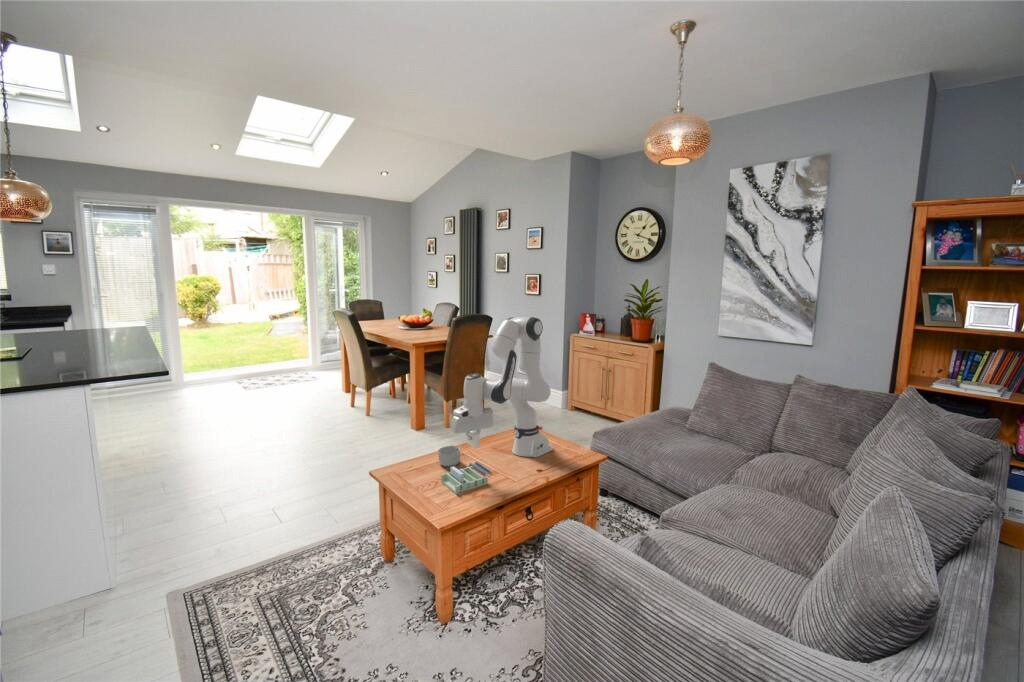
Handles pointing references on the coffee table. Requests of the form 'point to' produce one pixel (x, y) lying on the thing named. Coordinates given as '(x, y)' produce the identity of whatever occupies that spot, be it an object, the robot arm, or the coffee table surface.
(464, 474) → the rack
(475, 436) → the plate
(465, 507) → the coffee table surface
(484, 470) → the stand
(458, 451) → the teacup
